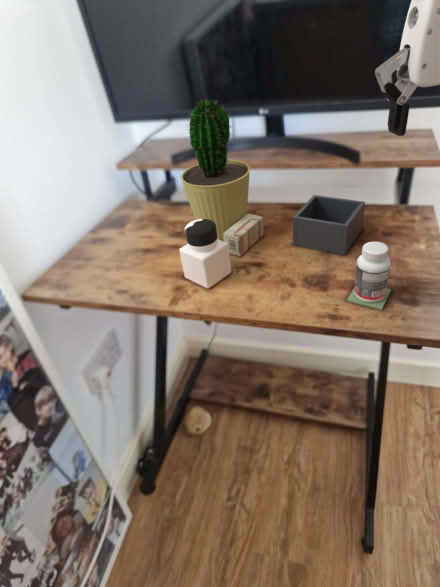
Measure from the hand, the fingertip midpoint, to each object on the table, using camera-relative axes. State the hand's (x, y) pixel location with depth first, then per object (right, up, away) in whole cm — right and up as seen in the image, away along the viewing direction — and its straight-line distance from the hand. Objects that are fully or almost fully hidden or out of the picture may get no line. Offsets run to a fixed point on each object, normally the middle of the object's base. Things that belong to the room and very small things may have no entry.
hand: (428, 126), depth 56 cm
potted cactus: (-28, -8, +42) cm, 51 cm away
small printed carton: (-26, -13, +31) cm, 43 cm away
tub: (-5, -11, +34) cm, 36 cm away
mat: (-2, -24, +16) cm, 29 cm away
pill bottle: (-2, -23, +16) cm, 29 cm away
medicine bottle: (-31, -19, +28) cm, 46 cm away
